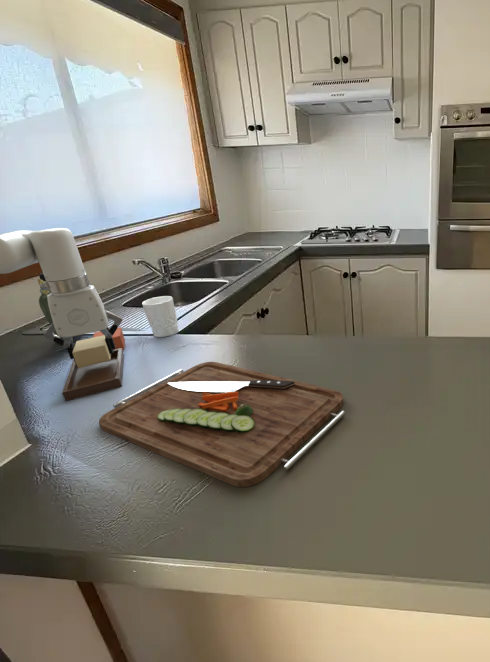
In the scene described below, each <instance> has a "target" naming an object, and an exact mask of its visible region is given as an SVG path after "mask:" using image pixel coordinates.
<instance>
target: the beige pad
mask: <svg viewBox="0 0 490 662" xmlns="http://www.w3.org/2000/svg"><path fill="white" fill-rule="evenodd" d="M72 353H73V356H74V358H73V359H75V361H76V364H77V366H78V368H81V367H85V366H89V365H93V364H97V363H102V362H106V361H110V358H111V354H110V353H109V350H108V347H107V344H106V342H105V335H103V336H98V337H94V338H93V337H89V338H85V339H80V340H76V342H75V347H74V349H73V352H72Z"/></svg>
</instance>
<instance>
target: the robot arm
mask: <svg viewBox="0 0 490 662" xmlns="http://www.w3.org/2000/svg"><path fill="white" fill-rule="evenodd" d="M34 264H39V266H40V268H41V271H42V273H43V274H44V276H45V279H46V281H44V282H45V283H43V284H40V285H39V289H40V288H41V290H48V291H49V292H50V294H49V295H47V299H48V305H49V310H50V313H51V317H52V320H53V323H52V324H51V326H50V325H49V327H48V328H47V329H46V330H45V332H44V333H43V337H44V338H46V339H48V340H49V341H52V342H53V343H55V344H58V345H60V346H61V345H62V347H63V346H64V347H65V348H64V349H66V348H67V349H66V351H67V353H68V356H69V359H70V360H73V359H74V356H73V353H72V352H73V349H74V347H75V344H76V342H74V341H73V342H72V337H76V336H77V337H78V336H81V335H86V334H91V333H95V332H102V333H103V334H104V335H105V342H106V344H107V347H108V350H109V353H110V354H113V352H114V349H116V346H115V343H114V340H113V337H112V336H113V334H114V333H115V331H116V330H117V328H119V327H120V326H121V324H122V322H123V317H122V316H120V315H118V314H115V313H113V312H111V311H110V310H109V311H108V310H107V309H106V308H105V305H104V302H103V301H102V299H101V296H100V295H99V292H98V290H97V289H96V287H95V286H94V285H91V283H90V281H89V278H88V274H87V271H86V268H85V266H84V264H83V261H82V257H81V255H80V251H79V249H78V246H77V242H76V240H75V237H74V234H73V232H72V230H70V229H69V228H66V227H55V228H54V227H53V228H47V229H46V228H45V229H40V230H13V231H8V232H3V233H0V274H1V275H3V274H4V275H5V274H10V273H13V272H16V271H19V270H21V269H23V268H26V267H29V266H32V265H34ZM110 320H111V321H113V323H112V325H110V327H109V322H110ZM55 330H56V332H57V334H58V336H57V335H56V334H54V331H55ZM63 337H64V338H63ZM74 361H75V359H74ZM75 363H76V361H75Z"/></svg>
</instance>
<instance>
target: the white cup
mask: <svg viewBox="0 0 490 662" xmlns="http://www.w3.org/2000/svg"><path fill="white" fill-rule="evenodd" d="M141 305H142V308H143V312H144V314H145V316H146V319H147V322H148V324H149V327H150V329H151V333H152V335H153V336H154V337H155V338H166V337H170V336H172V335H175V334H177V333H178V332H179V330H180V329H179V324H178V317H177V312H176V307H175V303H174V297H173V296H171V295H162V296H160V295H159V296H156V297H151V298H148V299H146V300H144V301H142V303H141Z"/></svg>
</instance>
